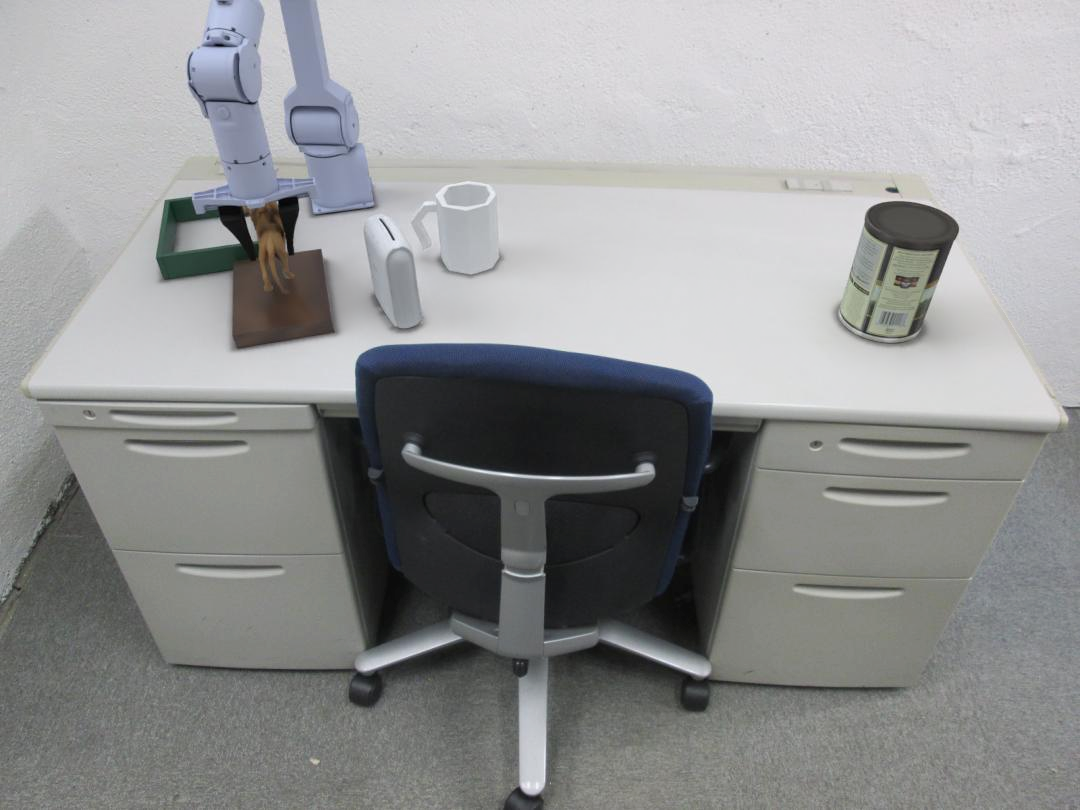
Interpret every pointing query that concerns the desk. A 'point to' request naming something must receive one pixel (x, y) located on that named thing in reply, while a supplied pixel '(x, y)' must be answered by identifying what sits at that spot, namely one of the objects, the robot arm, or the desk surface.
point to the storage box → (192, 259)
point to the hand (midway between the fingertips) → (272, 254)
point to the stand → (281, 301)
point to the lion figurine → (270, 242)
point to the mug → (463, 226)
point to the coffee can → (896, 270)
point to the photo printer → (392, 271)
